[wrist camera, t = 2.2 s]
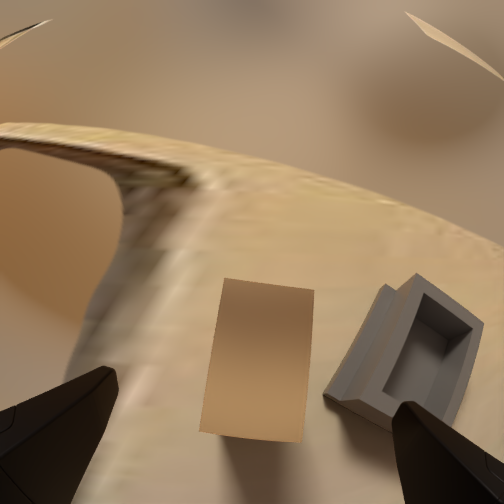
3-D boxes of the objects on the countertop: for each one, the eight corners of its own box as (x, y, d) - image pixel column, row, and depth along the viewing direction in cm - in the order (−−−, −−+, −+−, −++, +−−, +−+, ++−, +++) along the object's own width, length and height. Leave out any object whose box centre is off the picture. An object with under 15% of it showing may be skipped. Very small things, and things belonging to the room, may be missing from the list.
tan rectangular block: (265, 422, 16) (301, 442, 7) (217, 416, 16) (198, 431, 7) (274, 347, 18) (314, 289, 10) (228, 341, 18) (224, 277, 10)
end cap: (418, 446, 15) (452, 448, 11) (322, 393, 17) (344, 390, 13) (460, 344, 19) (491, 329, 15) (379, 288, 21) (404, 264, 17)
